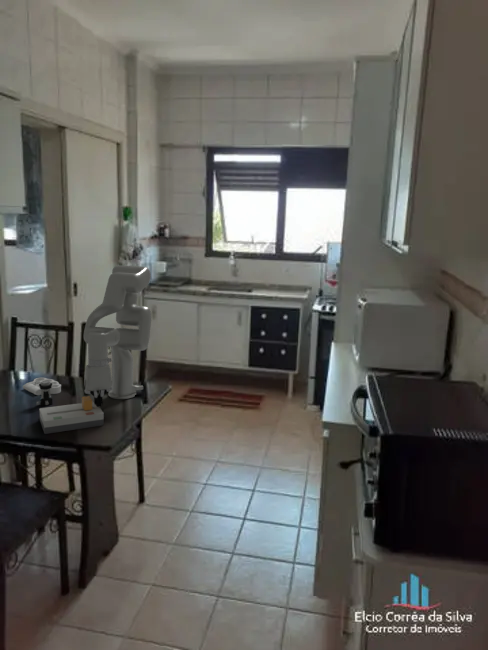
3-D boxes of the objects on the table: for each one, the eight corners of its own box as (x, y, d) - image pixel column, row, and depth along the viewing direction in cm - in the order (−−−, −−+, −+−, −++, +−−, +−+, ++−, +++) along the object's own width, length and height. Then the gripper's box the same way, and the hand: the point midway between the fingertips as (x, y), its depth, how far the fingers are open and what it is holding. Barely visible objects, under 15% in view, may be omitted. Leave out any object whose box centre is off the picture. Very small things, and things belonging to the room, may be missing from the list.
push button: (37, 407, 213) (37, 385, 211) (35, 403, 218) (34, 381, 216) (54, 405, 217) (53, 383, 215) (50, 401, 221) (50, 379, 219)
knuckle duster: (19, 388, 236) (48, 382, 247) (38, 398, 225) (68, 391, 236) (19, 381, 235) (48, 375, 246) (38, 391, 224) (68, 384, 235)
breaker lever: (89, 410, 205) (89, 395, 204) (92, 415, 201) (92, 400, 200) (82, 411, 204) (81, 396, 203) (84, 416, 200) (84, 401, 198)
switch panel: (94, 410, 213) (94, 399, 212) (103, 425, 200) (103, 412, 198) (39, 418, 203) (38, 405, 202) (44, 433, 189) (44, 421, 188)
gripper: (114, 358, 207) (114, 400, 211) (76, 361, 200) (77, 405, 204) (119, 363, 201) (119, 406, 204) (80, 366, 193) (81, 411, 197)
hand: (98, 405), depth 204 cm, fingers closed
